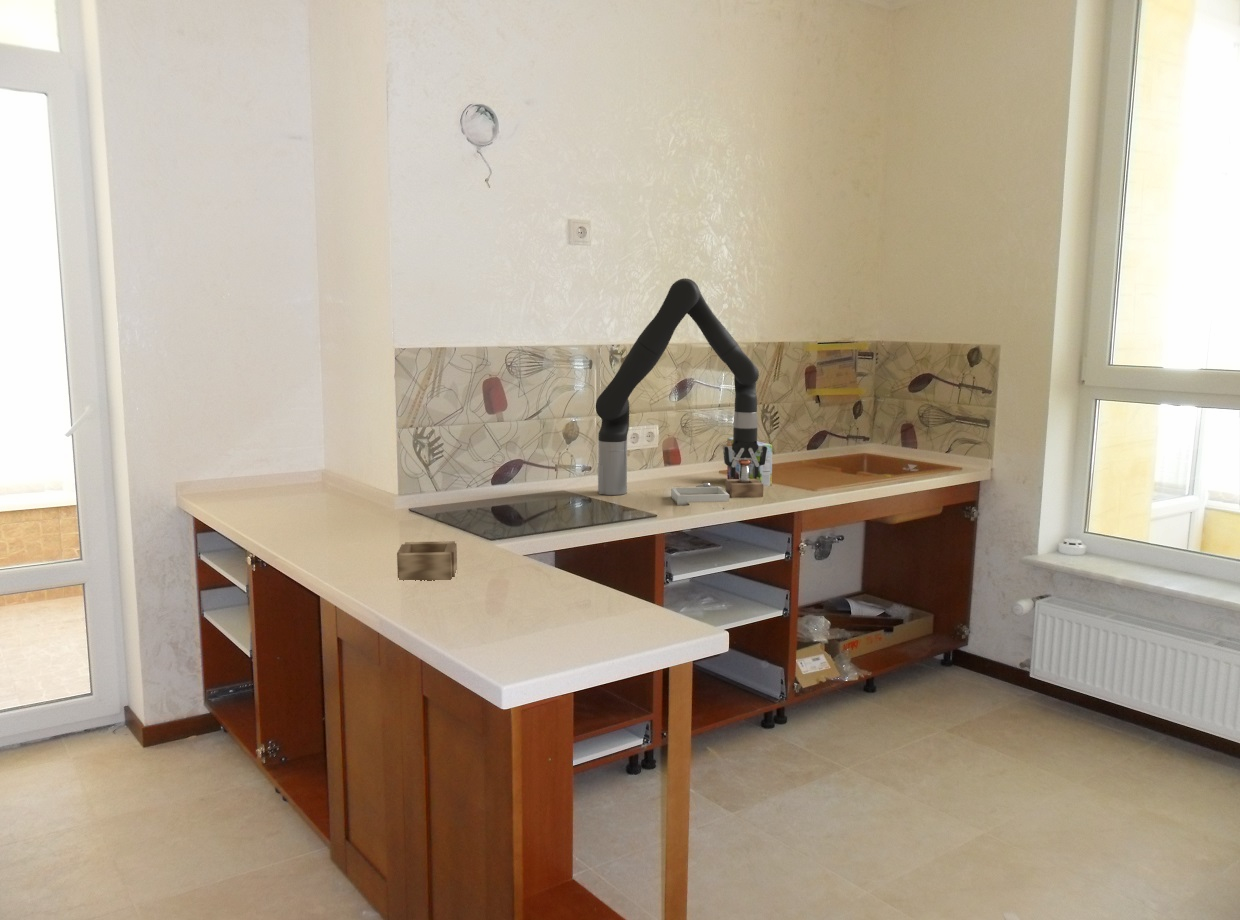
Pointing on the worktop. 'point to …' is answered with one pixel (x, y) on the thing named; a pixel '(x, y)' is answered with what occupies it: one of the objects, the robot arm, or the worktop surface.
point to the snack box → (764, 470)
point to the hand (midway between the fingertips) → (744, 478)
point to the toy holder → (427, 560)
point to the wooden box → (744, 488)
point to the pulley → (706, 485)
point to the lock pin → (744, 470)
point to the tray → (713, 495)
